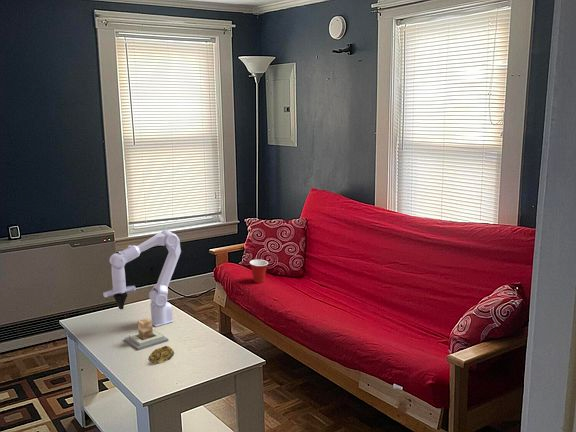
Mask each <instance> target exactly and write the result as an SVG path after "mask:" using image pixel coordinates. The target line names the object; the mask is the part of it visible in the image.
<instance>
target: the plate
mask: <svg viewBox="0 0 576 432" xmlns="http://www.w3.org/2000/svg"><path fill="white" fill-rule="evenodd" d="M152 329H153V328H152ZM124 341H125V342H127V343H128V344H129V345H130V346H132V347H133V348H135V349H136V350H137V351H141V350H144V349H147V348H150V347H153V346H157V345H160V344H163V343H166V342H169V338H168V337H166V336H165V335H164V334H161V333H160V332H158V331H157V330H155V329H153V337H152V338H149V339H145V340H141V339H140V338H139V332H136V333H133V334H129V335H128V336H126V337H124Z"/></svg>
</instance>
